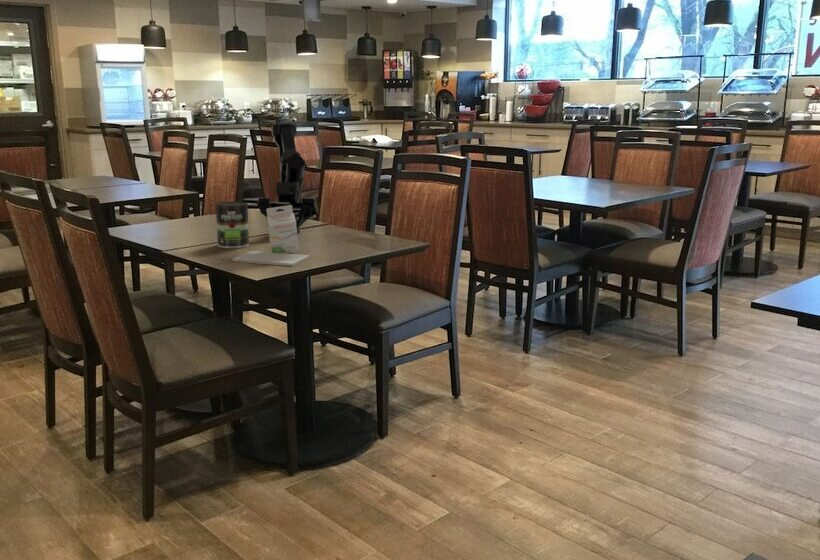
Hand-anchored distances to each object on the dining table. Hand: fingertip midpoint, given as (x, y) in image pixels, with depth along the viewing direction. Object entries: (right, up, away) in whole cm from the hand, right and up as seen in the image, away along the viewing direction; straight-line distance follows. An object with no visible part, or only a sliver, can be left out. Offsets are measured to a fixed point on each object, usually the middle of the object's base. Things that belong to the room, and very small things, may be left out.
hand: (282, 227), depth 231 cm
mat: (-2, -10, -5) cm, 12 cm away
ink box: (0, -6, +5) cm, 8 cm away
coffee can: (-19, -5, +15) cm, 25 cm away
